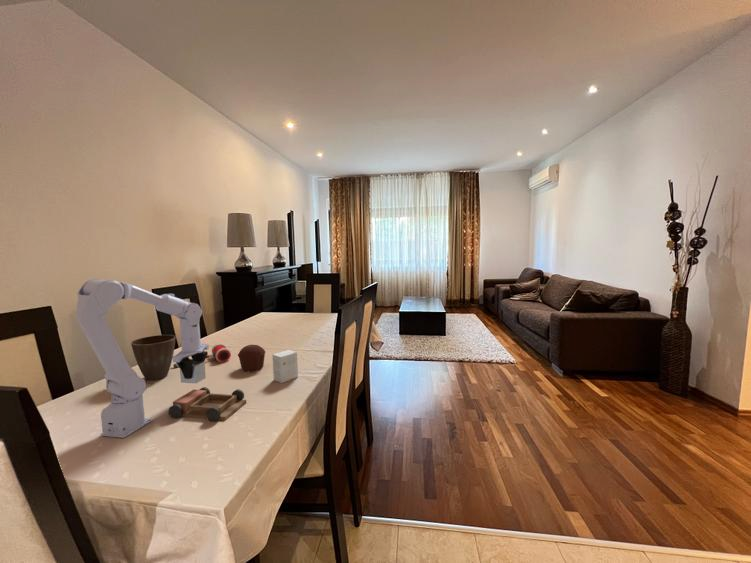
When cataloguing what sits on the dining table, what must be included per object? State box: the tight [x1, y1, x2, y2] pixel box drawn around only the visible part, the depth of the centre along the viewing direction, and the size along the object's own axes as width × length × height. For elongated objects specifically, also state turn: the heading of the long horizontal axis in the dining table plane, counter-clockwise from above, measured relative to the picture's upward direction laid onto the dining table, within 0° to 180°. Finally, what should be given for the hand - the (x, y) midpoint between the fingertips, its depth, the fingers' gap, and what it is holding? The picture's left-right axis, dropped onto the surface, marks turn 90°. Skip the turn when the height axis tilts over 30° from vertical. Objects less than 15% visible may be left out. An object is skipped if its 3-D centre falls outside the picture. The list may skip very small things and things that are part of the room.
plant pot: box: [130, 334, 177, 382], centre depth 131 cm, size 15×15×16 cm
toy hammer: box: [172, 343, 232, 369], centre depth 148 cm, size 23×12×6 cm, turn 127°
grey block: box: [179, 361, 206, 384], centre depth 110 cm, size 4×6×6 cm
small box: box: [272, 349, 299, 384], centre depth 127 cm, size 8×6×10 cm
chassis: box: [167, 386, 247, 422], centre depth 104 cm, size 14×20×4 cm
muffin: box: [237, 344, 266, 373], centre depth 140 cm, size 12×11×10 cm
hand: (193, 375), depth 111 cm, fingers closed on grey block, 4 cm apart
